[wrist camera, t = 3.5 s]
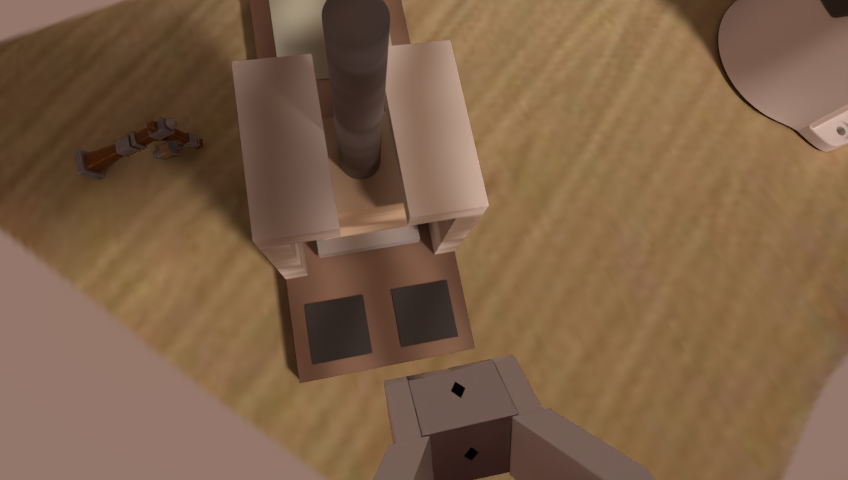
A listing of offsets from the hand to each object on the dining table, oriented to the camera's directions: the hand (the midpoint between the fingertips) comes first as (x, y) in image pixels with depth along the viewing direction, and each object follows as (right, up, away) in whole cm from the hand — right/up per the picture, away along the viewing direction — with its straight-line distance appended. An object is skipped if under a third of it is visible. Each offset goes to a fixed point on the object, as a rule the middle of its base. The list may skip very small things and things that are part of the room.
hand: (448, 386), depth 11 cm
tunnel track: (-6, +9, +27) cm, 29 cm away
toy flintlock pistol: (-21, +10, +26) cm, 35 cm away
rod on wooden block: (-5, +6, +25) cm, 26 cm away
